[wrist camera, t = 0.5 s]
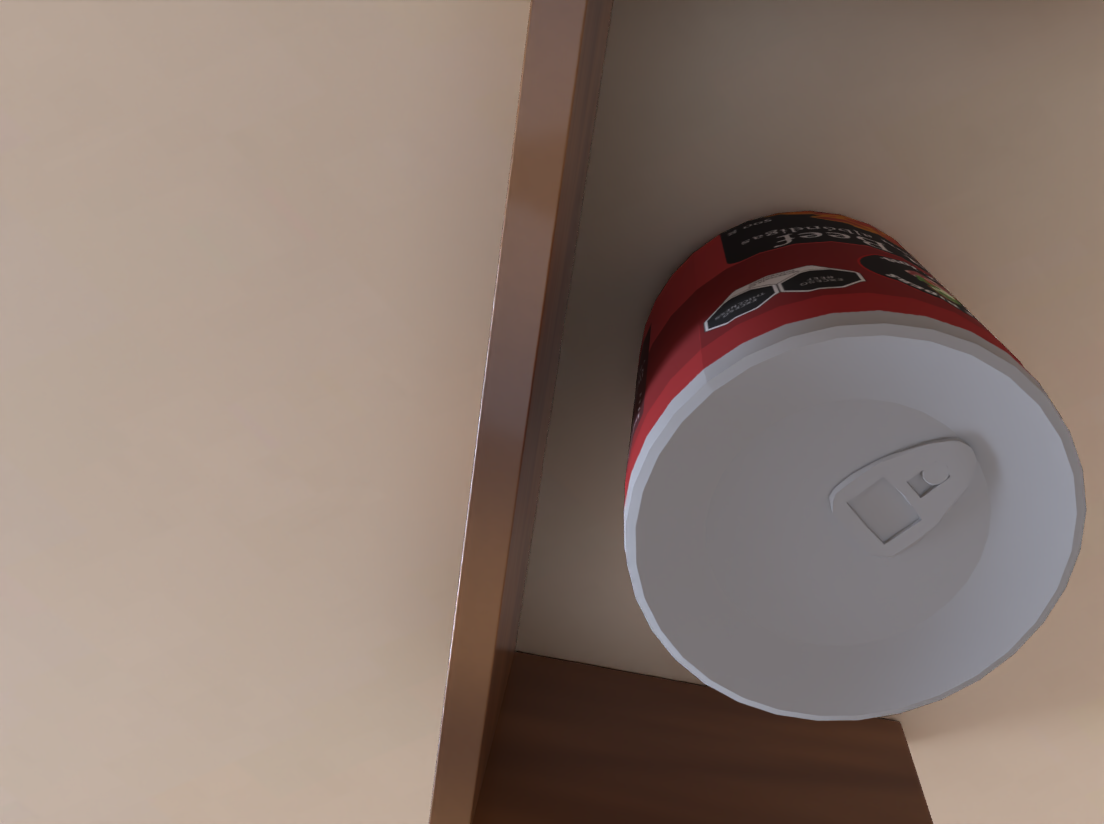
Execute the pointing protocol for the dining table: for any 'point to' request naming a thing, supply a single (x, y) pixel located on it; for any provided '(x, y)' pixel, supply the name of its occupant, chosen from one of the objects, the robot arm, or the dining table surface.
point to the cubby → (503, 553)
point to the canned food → (839, 476)
